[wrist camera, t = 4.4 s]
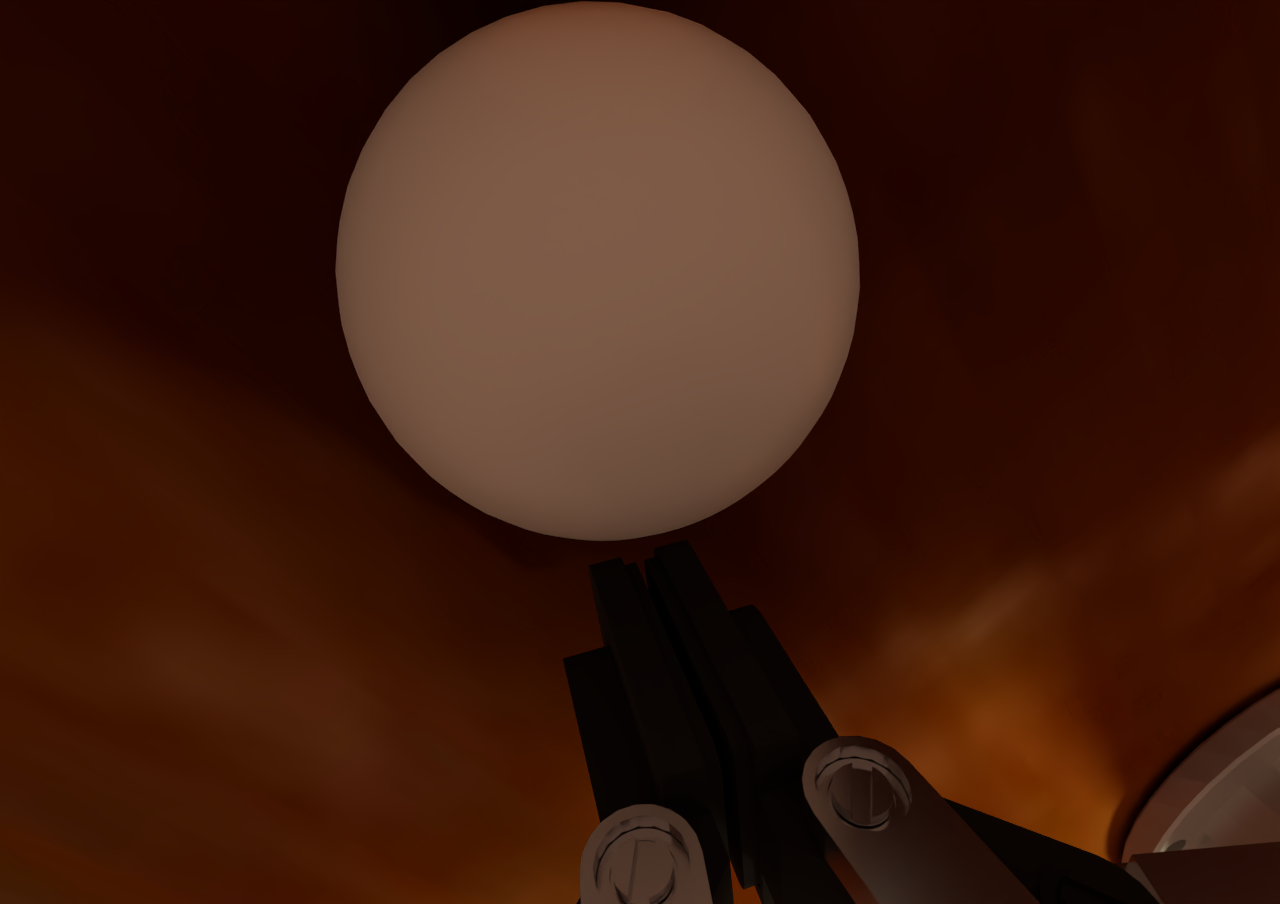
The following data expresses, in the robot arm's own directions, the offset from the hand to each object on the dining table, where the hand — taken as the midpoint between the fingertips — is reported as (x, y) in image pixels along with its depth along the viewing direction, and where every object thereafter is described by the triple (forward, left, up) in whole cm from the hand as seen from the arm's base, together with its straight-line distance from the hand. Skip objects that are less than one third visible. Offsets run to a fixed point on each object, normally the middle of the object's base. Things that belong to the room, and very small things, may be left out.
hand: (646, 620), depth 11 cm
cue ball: (+5, -2, +1) cm, 6 cm away
